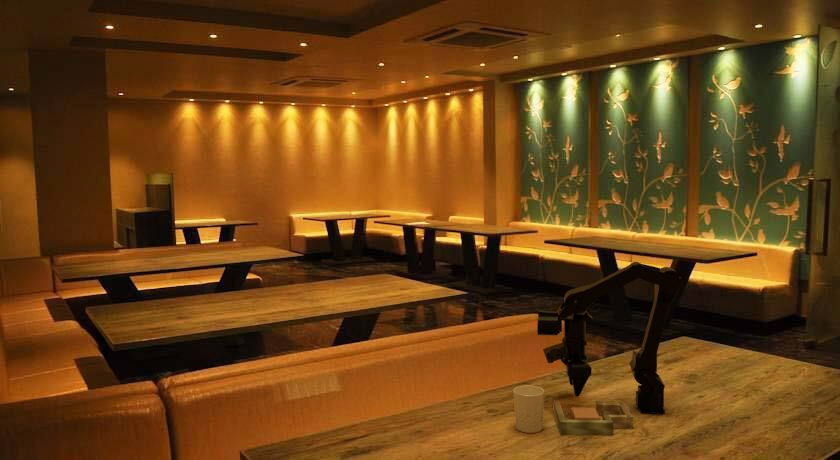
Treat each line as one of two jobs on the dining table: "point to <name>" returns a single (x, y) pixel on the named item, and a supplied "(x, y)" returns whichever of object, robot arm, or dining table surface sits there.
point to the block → (584, 414)
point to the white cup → (529, 408)
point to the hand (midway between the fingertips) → (574, 390)
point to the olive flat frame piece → (612, 418)
